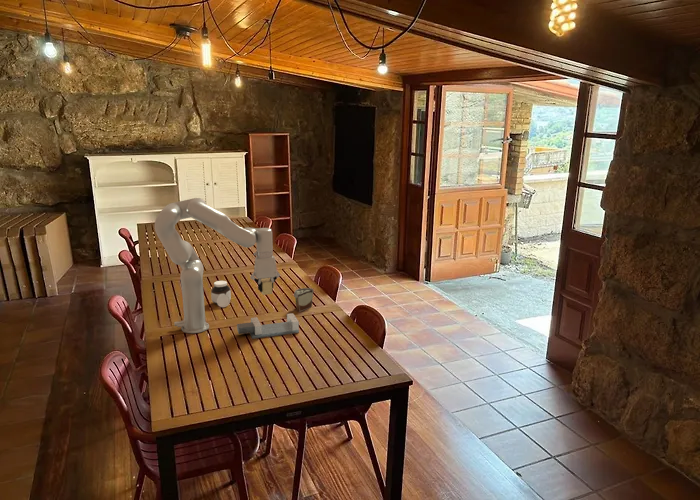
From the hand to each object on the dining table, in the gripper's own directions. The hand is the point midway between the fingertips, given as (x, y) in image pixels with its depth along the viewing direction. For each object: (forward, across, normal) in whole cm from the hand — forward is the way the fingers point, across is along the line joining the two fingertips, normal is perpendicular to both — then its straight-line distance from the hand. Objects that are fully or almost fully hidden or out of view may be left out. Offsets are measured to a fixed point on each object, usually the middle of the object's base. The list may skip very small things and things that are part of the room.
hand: (265, 290), depth 239 cm
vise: (+17, +1, -10) cm, 20 cm away
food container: (+18, +22, +14) cm, 32 cm away
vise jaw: (+15, -11, -10) cm, 21 cm away
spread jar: (+18, -17, +34) cm, 42 cm away
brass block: (+1, 0, 0) cm, 1 cm away
